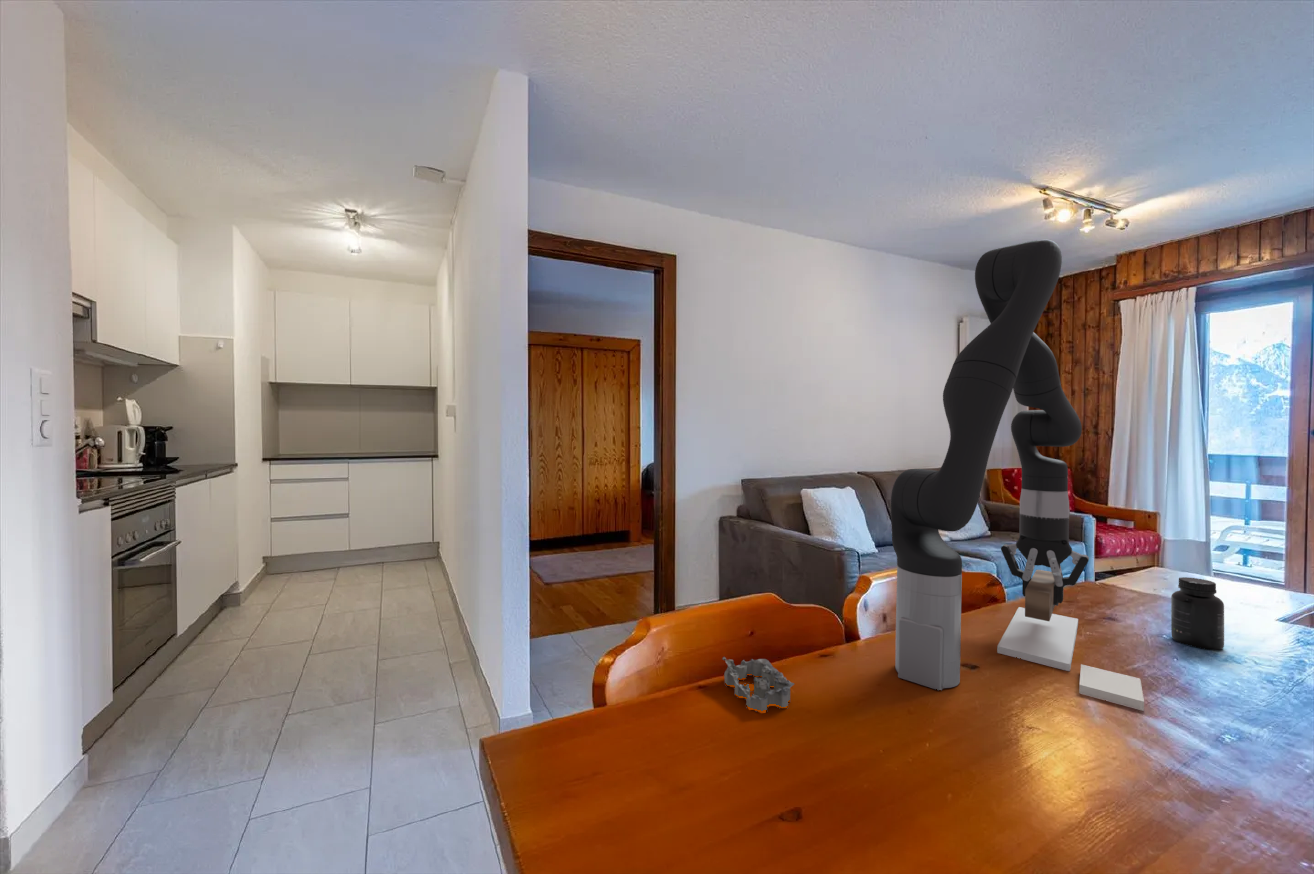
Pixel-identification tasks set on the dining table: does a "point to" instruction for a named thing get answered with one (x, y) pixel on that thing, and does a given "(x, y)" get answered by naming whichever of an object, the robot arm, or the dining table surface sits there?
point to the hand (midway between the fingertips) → (1042, 601)
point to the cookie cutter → (759, 683)
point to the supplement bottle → (1197, 614)
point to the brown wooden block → (1040, 596)
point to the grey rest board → (1040, 639)
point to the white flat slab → (1111, 687)
